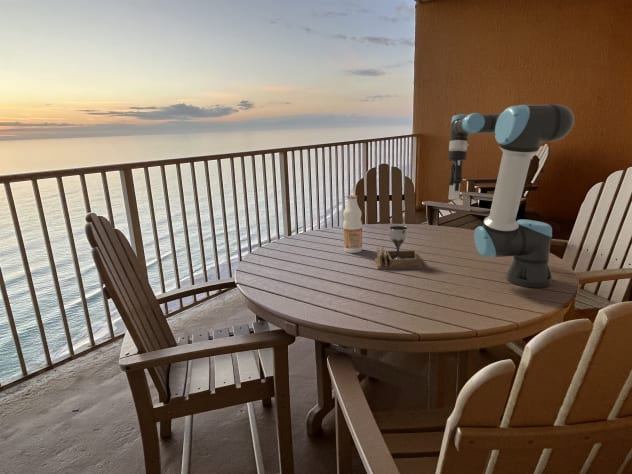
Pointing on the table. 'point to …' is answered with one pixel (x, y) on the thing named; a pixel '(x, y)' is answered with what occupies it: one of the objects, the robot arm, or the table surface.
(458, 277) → the table surface
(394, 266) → the wooden tray
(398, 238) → the silver goblet
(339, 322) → the table surface
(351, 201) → the fruit juice
